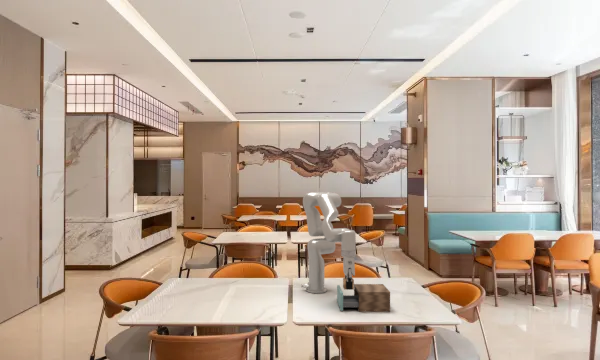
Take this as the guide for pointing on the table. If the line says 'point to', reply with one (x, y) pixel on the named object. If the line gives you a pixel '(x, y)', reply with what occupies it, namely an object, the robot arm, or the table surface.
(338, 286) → the teal drawer
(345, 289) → the cube
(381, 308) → the cabinet
